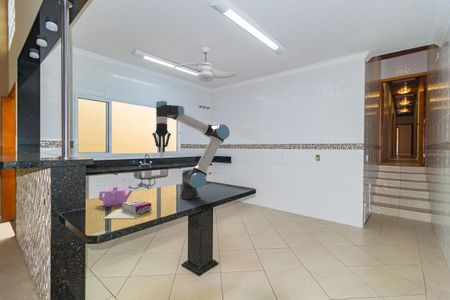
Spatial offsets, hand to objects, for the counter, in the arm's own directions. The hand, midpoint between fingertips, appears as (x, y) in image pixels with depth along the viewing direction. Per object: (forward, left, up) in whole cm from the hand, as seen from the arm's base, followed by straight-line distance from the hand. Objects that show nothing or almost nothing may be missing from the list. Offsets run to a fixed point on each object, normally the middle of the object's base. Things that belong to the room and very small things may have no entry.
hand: (161, 156), depth 158 cm
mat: (+17, +20, -34) cm, 43 cm away
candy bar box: (+6, +19, -32) cm, 37 cm away
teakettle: (+34, -4, -35) cm, 49 cm away
